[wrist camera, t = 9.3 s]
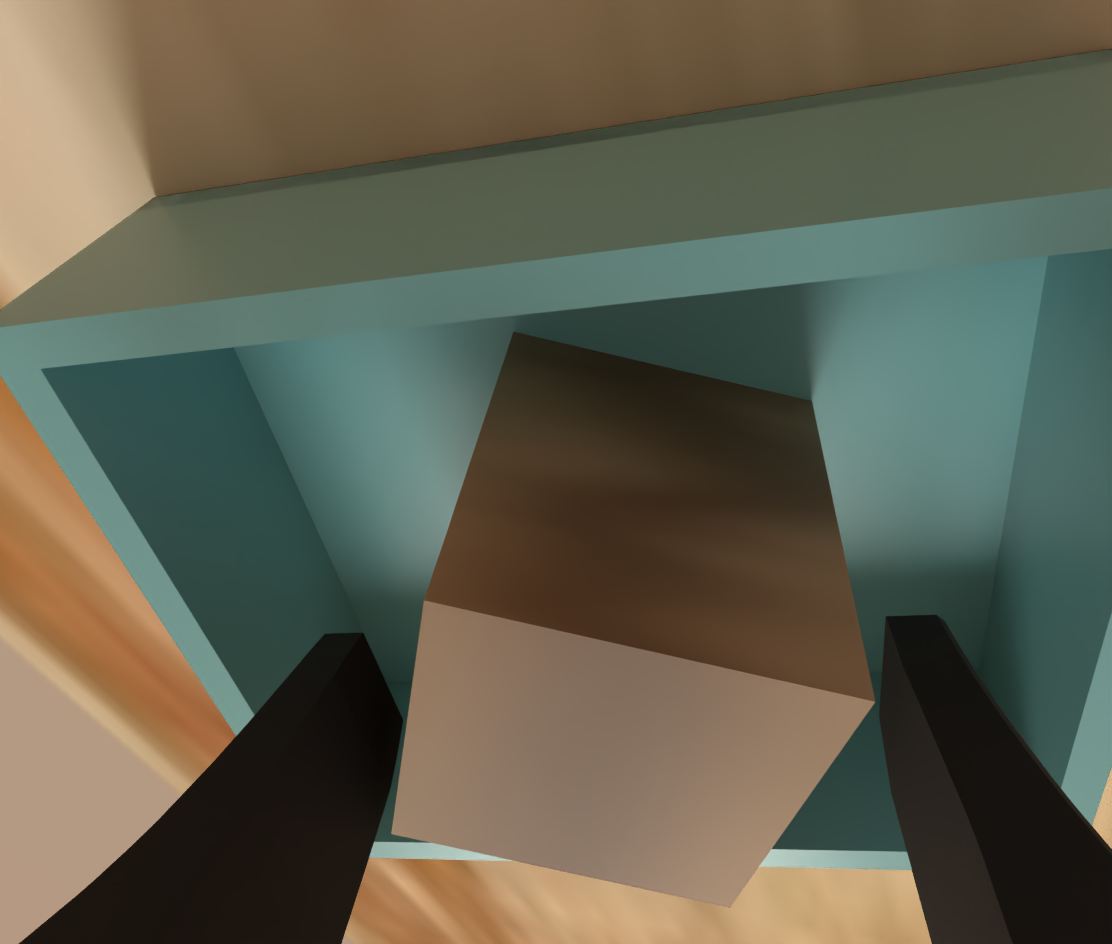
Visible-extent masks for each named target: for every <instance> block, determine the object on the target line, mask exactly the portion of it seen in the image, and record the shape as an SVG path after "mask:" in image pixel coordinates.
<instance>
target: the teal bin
mask: <svg viewBox="0 0 1112 944" xmlns="http://www.w3.org/2000/svg"><path fill="white" fill-rule="evenodd" d="M513 332H517V333H522V334H526V335H530V336H535V337H539V338H543V339H547V340H552V341H556V342H560V343H565V344H569V345H573V346H578V347H582V348H586V349H590V350H595V351H599V352H603V353H608V354H612V355H616V356H620V357H625V358H629V359H633V360H638V361H642V362H646V363H651V364H655V365H659V366H663V367H668V368H672V369H676V370H681V371H685V372H689V373H694V374H698V375H702V376H706V377H711V378H715V379H719V380H724V381H728V382H732V383H737V384H741V385H745V386H749V387H754V388H758V389H762V390H767V391H771V392H775V393H780V394H784V395H788V396H792V397H797V398H801V399H805V400H810V401H812V403H813V408H814V413H815V417H816V422H817V427H818V432H819V436H820V441H821V446H822V451H823V455H824V460H825V465H826V470H827V474H828V479H829V484H830V489H831V493H832V498H833V503H834V508H835V512H836V517H837V522H838V527H839V531H840V536H841V541H842V546H843V550H844V555H845V560H846V565H847V569H848V574H849V579H850V584H851V588H852V593H853V598H854V603H855V607H856V612H857V617H858V621H859V626H860V631H861V636H862V640H863V645H864V650H865V655H866V659H867V664H868V669H869V674H870V678H871V683H872V688H873V693H874V697H875V703H874V705H873V706H872V707H871V709H870V710H869V712H868V713H867V714H866V716H865V717H864V719H863V720H862V722H861V723H860V724H859V726H858V727H857V729H856V730H855V731H854V733H853V734H852V736H851V737H850V739H849V740H848V741H847V743H846V744H845V746H844V747H843V748H842V750H841V751H840V753H839V754H838V756H837V757H836V758H835V760H834V761H833V763H832V764H831V765H830V767H829V768H828V770H827V771H826V772H825V774H824V775H823V777H822V778H821V780H820V781H819V782H818V784H817V785H816V787H815V788H814V789H813V791H812V792H811V794H810V795H809V797H808V798H807V799H806V801H805V802H804V804H803V805H802V806H801V808H800V809H799V811H798V812H797V814H796V815H795V816H794V818H793V819H792V821H791V822H790V823H789V825H788V826H787V828H786V829H785V831H784V832H783V833H782V835H781V836H780V838H779V839H778V840H777V842H776V843H775V845H774V846H773V848H772V849H771V850H770V852H769V853H768V855H767V856H766V857H765V859H764V860H763V862H762V863H761V865H760V866H759V867H798V868H841V869H884V870H912V868H911V865H910V861H909V857H908V854H907V850H906V846H905V843H904V839H903V835H902V831H901V828H900V824H899V820H898V816H897V813H896V809H895V805H894V801H893V798H892V794H891V788H890V782H889V776H888V770H887V764H886V758H885V751H884V745H883V739H882V732H881V726H880V719H879V709H880V694H881V679H882V664H883V649H884V634H885V619H886V616H908V615H938V616H939V617H940V618H942V619H943V620H944V621H945V622H946V624H947V625H948V627H949V629H950V631H951V632H952V634H953V636H954V638H955V639H956V641H957V642H958V644H959V646H960V647H961V649H962V651H963V652H964V654H965V656H966V657H967V659H968V660H969V662H970V663H971V665H972V667H973V668H974V670H975V671H976V673H977V674H978V676H979V677H980V679H981V680H982V682H983V683H984V685H985V686H986V688H987V689H988V691H989V692H990V693H991V695H992V696H993V698H994V699H995V701H996V702H997V704H998V705H999V707H1000V708H1001V709H1002V711H1003V712H1004V714H1005V715H1006V716H1007V718H1008V719H1009V721H1010V722H1011V723H1012V725H1013V726H1014V728H1015V729H1016V730H1017V732H1018V733H1019V734H1020V736H1021V737H1022V738H1023V740H1024V741H1025V742H1026V744H1027V745H1028V746H1029V747H1030V749H1031V750H1032V751H1033V753H1034V754H1035V755H1036V757H1037V758H1038V759H1039V761H1040V762H1041V763H1042V765H1043V766H1044V767H1045V769H1046V770H1047V771H1048V773H1049V774H1050V775H1051V777H1052V778H1053V779H1054V780H1055V782H1056V783H1057V784H1058V785H1059V787H1060V788H1061V789H1062V790H1063V792H1064V793H1065V794H1066V795H1067V797H1068V798H1069V799H1070V800H1071V802H1072V803H1073V804H1074V805H1075V806H1076V808H1077V809H1078V810H1079V811H1080V812H1081V814H1082V815H1083V816H1084V817H1085V818H1086V819H1087V821H1088V822H1089V823H1090V824H1091V825H1092V824H1093V821H1094V818H1095V815H1096V812H1097V809H1098V806H1099V803H1100V800H1101V797H1102V794H1103V791H1104V788H1105V785H1106V782H1107V779H1108V777H1109V774H1110V771H1111V768H1112V49H1109V50H1102V51H1096V52H1090V53H1083V54H1077V55H1070V56H1064V57H1057V58H1051V59H1044V60H1038V61H1032V62H1025V63H1019V64H1012V65H1006V66H999V67H993V68H986V69H980V70H974V71H967V72H961V73H954V74H948V75H941V76H935V77H928V78H922V79H916V80H909V81H903V82H896V83H890V84H883V85H877V86H870V87H864V88H858V89H851V90H845V91H838V92H832V93H825V94H819V95H812V96H806V97H800V98H793V99H787V100H780V101H774V102H767V103H761V104H754V105H748V106H742V107H735V108H729V109H722V110H716V111H709V112H703V113H696V114H690V115H684V116H677V117H671V118H664V119H658V120H651V121H645V122H638V123H632V124H626V125H619V126H613V127H606V128H600V129H593V130H587V131H581V132H574V133H568V134H561V135H555V136H548V137H542V138H535V139H529V140H523V141H516V142H510V143H503V144H497V145H490V146H484V147H477V148H471V149H465V150H458V151H452V152H445V153H439V154H432V155H426V156H419V157H413V158H407V159H400V160H394V161H387V162H381V163H374V164H368V165H361V166H355V167H349V168H342V169H336V170H329V171H323V172H316V173H310V174H303V175H297V176H291V177H284V178H278V179H271V180H265V181H258V182H252V183H245V184H239V185H233V186H226V187H220V188H213V189H207V190H200V191H194V192H187V193H181V194H175V195H168V196H162V197H155V198H153V199H151V200H150V201H149V202H147V203H146V204H145V205H143V206H142V207H140V208H139V209H138V210H136V211H135V212H134V213H132V214H131V215H130V216H128V217H127V218H125V219H124V220H123V221H121V222H120V223H119V224H117V225H116V226H114V227H113V228H112V229H110V230H109V231H108V232H106V233H105V234H103V235H102V236H101V237H99V238H98V239H97V240H95V241H94V242H92V243H91V244H90V245H88V246H87V247H86V248H84V249H83V250H81V251H80V252H79V253H77V254H76V255H75V256H73V257H72V258H70V259H69V260H68V261H66V262H65V263H64V264H62V265H61V266H59V267H58V268H57V269H55V270H54V271H53V272H51V273H50V274H49V275H47V276H46V277H44V278H43V279H42V280H40V281H39V282H38V283H36V284H35V285H33V286H32V287H31V288H29V289H28V290H27V291H25V292H24V293H22V294H21V295H20V296H18V297H17V298H16V299H14V300H13V301H11V302H10V303H9V304H7V305H6V306H5V307H3V308H2V309H0V376H1V377H2V379H3V380H4V382H5V383H6V385H7V386H8V388H9V389H10V391H11V392H12V394H13V396H14V397H15V399H16V400H17V402H18V403H19V405H20V406H21V408H22V409H23V411H24V412H25V414H26V415H27V417H28V418H29V420H30V422H31V423H32V425H33V426H34V428H35V429H36V431H37V432H38V434H39V435H40V437H41V438H42V440H43V441H44V443H45V444H46V446H47V448H48V449H49V451H50V452H51V454H52V455H53V457H54V458H55V460H56V461H57V463H58V464H59V466H60V467H61V469H62V470H63V472H64V474H65V475H66V477H67V478H68V480H69V481H70V483H71V484H72V486H73V487H74V489H75V490H76V492H77V493H78V495H79V496H80V498H81V499H82V501H83V503H84V504H85V506H86V507H87V509H88V510H89V512H90V513H91V515H92V516H93V518H94V519H95V521H96V522H97V524H98V525H99V527H100V529H101V530H102V532H103V533H104V535H105V536H106V538H107V539H108V541H109V542H110V544H111V545H112V547H113V548H114V550H115V551H116V553H117V555H118V556H119V558H120V559H121V561H122V562H123V564H124V565H125V567H126V568H127V570H128V571H129V573H130V574H131V576H132V577H133V579H134V581H135V582H136V584H137V585H138V587H139V588H140V590H141V591H142V593H143V594H144V596H145V597H146V599H147V600H148V602H149V603H150V605H151V607H152V608H153V610H154V611H155V613H156V614H157V616H158V617H159V619H160V620H161V622H162V623H163V625H164V626H165V628H166V629H167V631H168V633H169V634H170V636H171V637H172V639H173V640H174V642H175V643H176V645H177V646H178V648H179V649H180V651H181V652H182V654H183V655H184V657H185V659H186V660H187V662H188V663H189V665H190V666H191V668H192V669H193V671H194V672H195V674H196V675H197V677H198V678H199V680H200V681H201V683H202V685H203V686H204V688H205V689H206V691H207V692H208V694H209V695H210V697H211V698H212V700H213V701H214V703H215V704H216V706H217V707H218V709H219V711H220V712H221V714H222V715H223V717H224V718H225V720H226V721H227V723H228V724H229V726H230V727H231V729H232V730H233V732H234V733H235V735H236V736H237V735H238V734H239V732H240V731H241V730H242V729H243V728H244V727H245V726H246V725H247V723H248V722H249V721H250V720H251V719H252V718H253V717H254V715H255V714H256V713H257V712H258V711H259V710H260V708H261V707H262V706H263V705H264V704H265V703H266V701H267V700H268V699H269V698H270V697H271V696H272V694H273V693H274V692H275V691H276V690H277V689H278V687H279V686H280V685H281V684H282V683H283V681H284V680H285V679H286V678H287V677H288V676H289V674H290V673H291V672H292V671H293V670H294V669H295V667H296V666H297V665H298V664H299V663H300V662H301V660H302V659H303V658H304V657H305V656H306V655H307V653H308V652H309V651H310V650H311V649H312V648H313V646H314V645H315V644H316V643H317V642H318V641H319V640H320V639H321V637H322V636H323V635H324V634H330V633H362V632H363V633H364V636H365V638H366V640H367V642H368V644H369V646H370V649H371V651H372V653H373V655H374V657H375V659H376V662H377V664H378V666H379V668H380V670H381V672H382V675H383V677H384V679H385V681H386V683H387V685H388V688H389V690H390V692H391V694H392V696H393V698H394V701H395V703H396V705H397V707H398V709H399V712H400V714H401V716H402V718H403V725H402V731H401V737H400V743H399V749H398V754H397V760H396V765H395V770H394V775H393V779H392V784H391V789H390V792H389V796H388V799H387V802H386V805H385V809H384V812H383V815H382V818H381V821H380V825H379V828H378V831H377V834H376V837H375V841H374V844H373V847H372V850H371V853H370V856H369V858H408V859H451V860H494V861H513V860H508V859H504V858H499V857H495V856H490V855H485V854H481V853H476V852H472V851H467V850H462V849H458V848H453V847H449V846H444V845H439V844H435V843H430V842H426V841H421V840H417V839H412V838H407V837H403V836H398V835H394V834H391V832H392V825H393V818H394V811H395V804H396V797H397V790H398V782H399V775H400V768H401V761H402V754H403V747H404V740H405V732H406V725H407V718H408V711H409V704H410V697H411V690H412V682H413V675H414V668H415V661H416V654H417V647H418V640H419V632H420V625H421V618H422V611H423V604H424V599H425V596H426V593H427V590H428V587H429V584H430V581H431V578H432V575H433V572H434V569H435V566H436V563H437V560H438V557H439V554H440V551H441V548H442V545H443V542H444V539H445V536H446V533H447V530H448V527H449V524H450V521H451V518H452V515H453V512H454V509H455V506H456V503H457V500H458V497H459V494H460V491H461V488H462V485H463V482H464V479H465V476H466V473H467V470H468V467H469V464H470V461H471V458H472V455H473V452H474V449H475V446H476V443H477V440H478V437H479V434H480V431H481V428H482V425H483V422H484V419H485V416H486V413H487V410H488V407H489V404H490V401H491V398H492V395H493V392H494V389H495V386H496V383H497V380H498V377H499V374H500V371H501V368H502V365H503V362H504V359H505V356H506V353H507V350H508V347H509V344H510V341H511V338H512V334H513Z"/></svg>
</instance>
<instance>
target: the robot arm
mask: <svg viewBox="0 0 1112 944" xmlns="http://www.w3.org/2000/svg"><path fill="white" fill-rule="evenodd" d="M879 719H880V726H881V732H882V739H883V745H884V751H885V758H886V764H887V770H888V776H889V782H890V788H891V794H892V798H893V801H894V805H895V809H896V813H897V816H898V820H899V824H900V828H901V831H902V835H903V839H904V843H905V846H906V850H907V854H908V857H909V861H910V865H911V868H912V872H913V876H914V879H915V883H916V887H917V890H918V894H919V898H920V901H921V905H922V909H923V912H924V916H925V920H926V923H927V927H928V931H929V934H930V938H931V942H932V944H1112V849H1111V848H1110V847H1109V846H1108V844H1107V843H1106V842H1105V841H1104V840H1103V839H1102V837H1101V836H1100V835H1099V834H1098V833H1097V831H1096V830H1095V829H1094V828H1093V827H1092V825H1091V824H1090V823H1089V822H1088V821H1087V819H1086V818H1085V817H1084V816H1083V815H1082V814H1081V812H1080V811H1079V810H1078V809H1077V808H1076V806H1075V805H1074V804H1073V803H1072V802H1071V800H1070V799H1069V798H1068V797H1067V795H1066V794H1065V793H1064V792H1063V790H1062V789H1061V788H1060V787H1059V785H1058V784H1057V783H1056V782H1055V780H1054V779H1053V778H1052V777H1051V775H1050V774H1049V773H1048V771H1047V770H1046V769H1045V767H1044V766H1043V765H1042V763H1041V762H1040V761H1039V759H1038V758H1037V757H1036V755H1035V754H1034V753H1033V751H1032V750H1031V749H1030V747H1029V746H1028V745H1027V744H1026V742H1025V741H1024V740H1023V738H1022V737H1021V736H1020V734H1019V733H1018V732H1017V730H1016V729H1015V728H1014V726H1013V725H1012V723H1011V722H1010V721H1009V719H1008V718H1007V716H1006V715H1005V714H1004V712H1003V711H1002V709H1001V708H1000V707H999V705H998V704H997V702H996V701H995V699H994V698H993V696H992V695H991V693H990V692H989V691H988V689H987V688H986V686H985V685H984V683H983V682H982V680H981V679H980V677H979V676H978V674H977V673H976V671H975V670H974V668H973V667H972V665H971V663H970V662H969V660H968V659H967V657H966V656H965V654H964V652H963V651H962V649H961V647H960V646H959V644H958V642H957V641H956V639H955V638H954V636H953V634H952V632H951V631H950V629H949V627H948V625H947V624H946V622H945V621H944V620H943V619H942V618H940V617H939V616H938V615H908V616H886V619H885V634H884V649H883V664H882V679H881V694H880V709H879ZM402 725H403V718H402V716H401V714H400V712H399V709H398V707H397V705H396V703H395V701H394V698H393V696H392V694H391V692H390V690H389V688H388V685H387V683H386V681H385V679H384V677H383V675H382V672H381V670H380V668H379V666H378V664H377V662H376V659H375V657H374V655H373V653H372V651H371V649H370V646H369V644H368V642H367V640H366V638H365V636H364V633H363V632H362V633H330V634H324V635H323V636H322V637H321V639H320V640H319V641H318V642H317V643H316V644H315V645H314V646H313V648H312V649H311V650H310V651H309V652H308V653H307V655H306V656H305V657H304V658H303V659H302V660H301V662H300V663H299V664H298V665H297V666H296V667H295V669H294V670H293V671H292V672H291V673H290V674H289V676H288V677H287V678H286V679H285V680H284V681H283V683H282V684H281V685H280V686H279V687H278V689H277V690H276V691H275V692H274V693H273V694H272V696H271V697H270V698H269V699H268V700H267V701H266V703H265V704H264V705H263V706H262V707H261V708H260V710H259V711H258V712H257V713H256V714H255V715H254V717H253V718H252V719H251V720H250V721H249V722H248V723H247V725H246V726H245V727H244V728H243V729H242V730H241V731H240V732H239V734H238V735H237V736H236V737H235V738H234V739H233V740H232V742H231V743H230V744H229V745H228V746H227V747H226V748H225V749H224V751H223V752H222V753H221V754H220V755H219V756H218V757H217V759H216V760H215V761H214V762H213V763H212V764H211V765H210V766H209V767H208V768H207V769H206V770H205V771H204V772H203V773H202V775H201V776H200V777H199V778H198V779H197V780H196V781H195V782H194V783H193V784H192V785H191V786H190V787H189V788H188V789H187V790H186V791H185V792H184V794H183V795H182V796H181V797H180V798H179V799H178V800H177V801H176V802H175V803H174V804H173V805H172V806H171V807H170V808H169V809H168V810H167V811H166V812H165V814H164V815H163V816H162V817H161V818H160V819H159V820H158V821H157V822H156V823H155V824H154V825H153V826H152V827H151V828H150V829H149V830H148V831H147V832H146V833H145V834H144V835H143V836H141V837H140V838H139V839H138V840H137V841H136V842H135V843H134V844H133V845H132V846H131V847H130V848H129V849H128V850H127V851H126V852H125V853H124V854H122V855H121V856H120V857H119V858H118V859H117V860H116V861H115V862H114V863H113V864H112V865H110V866H109V867H108V868H107V869H106V870H105V871H104V872H103V873H102V874H101V875H100V876H99V877H97V878H96V879H95V880H94V881H93V882H92V883H91V884H90V885H88V886H87V887H86V888H85V889H84V890H83V891H82V892H81V893H79V894H78V895H77V896H76V897H75V898H73V899H72V900H71V901H70V902H69V903H68V904H66V905H65V906H64V907H63V908H61V909H60V910H59V911H58V912H57V913H55V914H54V915H53V916H52V917H51V918H49V919H48V920H47V921H46V922H44V923H43V924H42V925H41V926H40V927H38V928H37V929H36V930H35V931H34V932H33V933H31V934H30V935H29V936H28V937H26V938H25V939H24V940H23V941H22V942H20V943H19V944H341V943H342V940H343V937H344V933H345V930H346V927H347V924H348V921H349V918H350V915H351V912H352V909H353V906H354V902H355V899H356V896H357V893H358V890H359V887H360V884H361V881H362V878H363V875H364V872H365V868H366V865H367V862H368V859H369V856H370V853H371V850H372V847H373V844H374V841H375V837H376V834H377V831H378V828H379V825H380V821H381V818H382V815H383V812H384V809H385V805H386V802H387V799H388V796H389V792H390V789H391V784H392V779H393V775H394V770H395V765H396V760H397V754H398V749H399V743H400V737H401V731H402Z"/></svg>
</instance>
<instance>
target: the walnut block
mask: <svg viewBox="0 0 1112 944" xmlns="http://www.w3.org/2000/svg"><path fill="white" fill-rule="evenodd" d="M874 703H875V697H874V693H873V688H872V683H871V678H870V674H869V669H868V664H867V659H866V655H865V650H864V645H863V640H862V636H861V631H860V626H859V621H858V617H857V612H856V607H855V603H854V598H853V593H852V588H851V584H850V579H849V574H848V569H847V565H846V560H845V555H844V550H843V546H842V541H841V536H840V531H839V527H838V522H837V517H836V512H835V508H834V503H833V498H832V493H831V489H830V484H829V479H828V474H827V470H826V465H825V460H824V455H823V451H822V446H821V441H820V436H819V432H818V427H817V422H816V417H815V413H814V408H813V403H812V401H810V400H805V399H801V398H797V397H792V396H788V395H784V394H780V393H775V392H771V391H767V390H762V389H758V388H754V387H749V386H745V385H741V384H737V383H732V382H728V381H724V380H719V379H715V378H711V377H706V376H702V375H698V374H694V373H689V372H685V371H681V370H676V369H672V368H668V367H663V366H659V365H655V364H651V363H646V362H642V361H638V360H633V359H629V358H625V357H620V356H616V355H612V354H608V353H603V352H599V351H595V350H590V349H586V348H582V347H578V346H573V345H569V344H565V343H560V342H556V341H552V340H547V339H543V338H539V337H535V336H530V335H526V334H522V333H517V332H513V334H512V338H511V341H510V344H509V347H508V350H507V353H506V356H505V359H504V362H503V365H502V368H501V371H500V374H499V377H498V380H497V383H496V386H495V389H494V392H493V395H492V398H491V401H490V404H489V407H488V410H487V413H486V416H485V419H484V422H483V425H482V428H481V431H480V434H479V437H478V440H477V443H476V446H475V449H474V452H473V455H472V458H471V461H470V464H469V467H468V470H467V473H466V476H465V479H464V482H463V485H462V488H461V491H460V494H459V497H458V500H457V503H456V506H455V509H454V512H453V515H452V518H451V521H450V524H449V527H448V530H447V533H446V536H445V539H444V542H443V545H442V548H441V551H440V554H439V557H438V560H437V563H436V566H435V569H434V572H433V575H432V578H431V581H430V584H429V587H428V590H427V593H426V596H425V599H424V604H423V611H422V618H421V625H420V632H419V640H418V647H417V654H416V661H415V668H414V675H413V682H412V690H411V697H410V704H409V711H408V718H407V725H406V732H405V740H404V747H403V754H402V761H401V768H400V775H399V782H398V790H397V797H396V804H395V811H394V818H393V825H392V832H391V834H394V835H398V836H403V837H407V838H412V839H417V840H421V841H426V842H430V843H435V844H439V845H444V846H449V847H453V848H458V849H462V850H467V851H472V852H476V853H481V854H485V855H490V856H495V857H499V858H504V859H508V860H513V861H518V862H522V863H527V864H531V865H536V866H540V867H545V868H550V869H554V870H559V871H563V872H568V873H573V874H577V875H582V876H586V877H591V878H596V879H600V880H605V881H609V882H614V883H618V884H623V885H628V886H632V887H637V888H641V889H646V890H651V891H655V892H660V893H664V894H669V895H674V896H678V897H683V898H687V899H692V900H696V901H701V902H706V903H710V904H715V905H719V906H724V907H729V908H730V907H731V906H732V904H733V903H734V901H735V900H736V898H737V897H738V896H739V894H740V893H741V891H742V890H743V889H744V887H745V886H746V884H747V883H748V881H749V880H750V879H751V877H752V876H753V874H754V873H755V872H756V870H757V869H758V867H759V866H760V865H761V863H762V862H763V860H764V859H765V857H766V856H767V855H768V853H769V852H770V850H771V849H772V848H773V846H774V845H775V843H776V842H777V840H778V839H779V838H780V836H781V835H782V833H783V832H784V831H785V829H786V828H787V826H788V825H789V823H790V822H791V821H792V819H793V818H794V816H795V815H796V814H797V812H798V811H799V809H800V808H801V806H802V805H803V804H804V802H805V801H806V799H807V798H808V797H809V795H810V794H811V792H812V791H813V789H814V788H815V787H816V785H817V784H818V782H819V781H820V780H821V778H822V777H823V775H824V774H825V772H826V771H827V770H828V768H829V767H830V765H831V764H832V763H833V761H834V760H835V758H836V757H837V756H838V754H839V753H840V751H841V750H842V748H843V747H844V746H845V744H846V743H847V741H848V740H849V739H850V737H851V736H852V734H853V733H854V731H855V730H856V729H857V727H858V726H859V724H860V723H861V722H862V720H863V719H864V717H865V716H866V714H867V713H868V712H869V710H870V709H871V707H872V706H873V705H874Z"/></svg>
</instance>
